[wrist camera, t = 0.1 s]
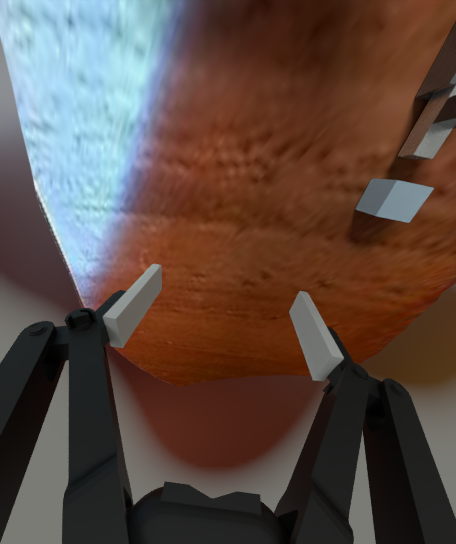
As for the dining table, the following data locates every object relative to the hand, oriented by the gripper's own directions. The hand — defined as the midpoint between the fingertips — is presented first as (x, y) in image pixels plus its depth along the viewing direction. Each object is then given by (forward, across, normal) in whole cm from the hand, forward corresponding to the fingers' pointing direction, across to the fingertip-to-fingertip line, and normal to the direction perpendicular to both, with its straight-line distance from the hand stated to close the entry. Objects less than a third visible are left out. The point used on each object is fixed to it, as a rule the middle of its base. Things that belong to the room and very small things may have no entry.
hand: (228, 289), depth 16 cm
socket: (+28, +29, +10) cm, 41 cm away
